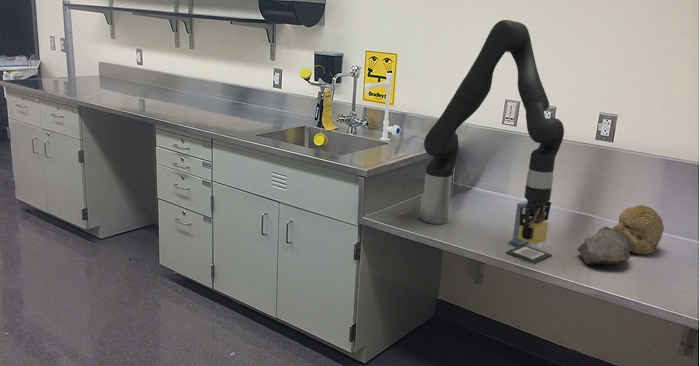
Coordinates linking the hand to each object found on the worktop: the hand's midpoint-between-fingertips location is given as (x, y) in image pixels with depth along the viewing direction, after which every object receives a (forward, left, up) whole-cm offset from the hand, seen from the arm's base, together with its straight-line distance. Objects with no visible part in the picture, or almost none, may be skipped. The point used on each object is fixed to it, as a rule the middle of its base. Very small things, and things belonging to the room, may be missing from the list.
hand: (531, 236), depth 180 cm
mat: (0, 0, -6) cm, 6 cm away
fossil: (+17, +34, -6) cm, 39 cm away
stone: (+16, +14, -7) cm, 23 cm away
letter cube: (0, 0, -1) cm, 1 cm away
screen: (-8, +9, -6) cm, 14 cm away
